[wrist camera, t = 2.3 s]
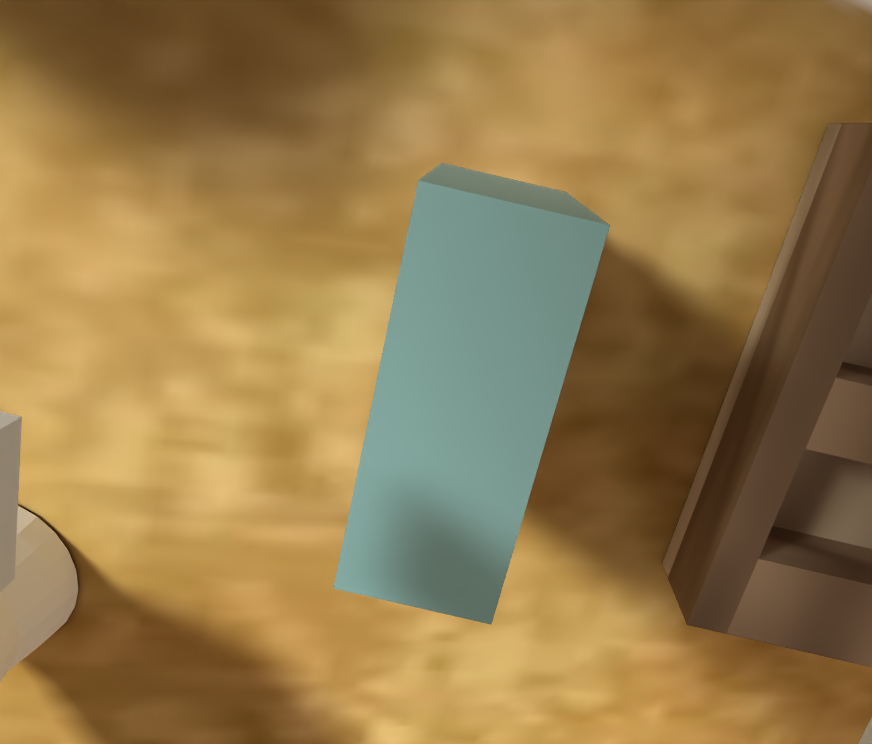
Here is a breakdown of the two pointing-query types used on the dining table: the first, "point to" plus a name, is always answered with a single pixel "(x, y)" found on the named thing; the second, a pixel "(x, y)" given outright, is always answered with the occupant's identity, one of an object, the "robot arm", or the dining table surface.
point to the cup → (35, 591)
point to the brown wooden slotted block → (795, 439)
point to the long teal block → (466, 388)
